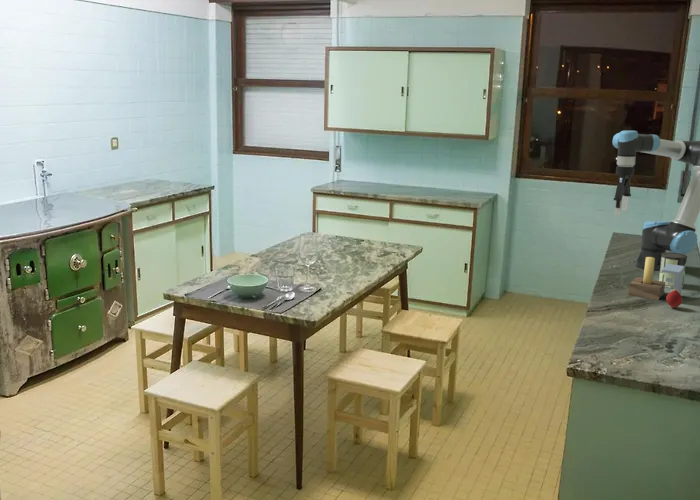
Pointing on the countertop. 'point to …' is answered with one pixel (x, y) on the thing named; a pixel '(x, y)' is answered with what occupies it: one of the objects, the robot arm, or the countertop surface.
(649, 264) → the peg
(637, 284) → the socket block
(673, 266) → the light blue box
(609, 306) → the countertop surface
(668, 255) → the coffee can
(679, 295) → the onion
